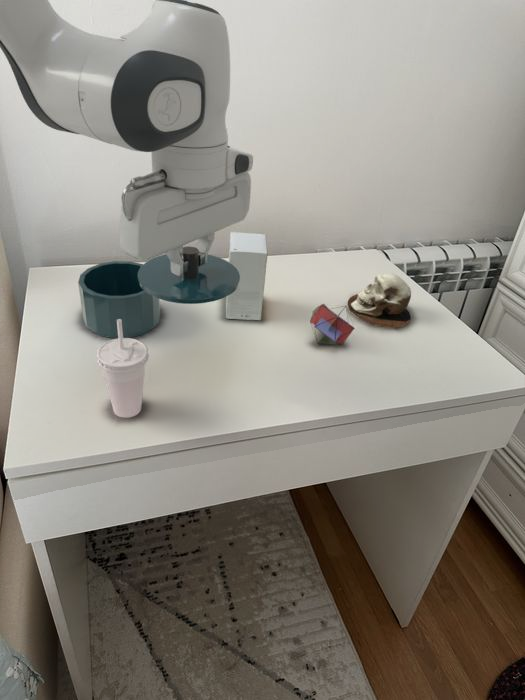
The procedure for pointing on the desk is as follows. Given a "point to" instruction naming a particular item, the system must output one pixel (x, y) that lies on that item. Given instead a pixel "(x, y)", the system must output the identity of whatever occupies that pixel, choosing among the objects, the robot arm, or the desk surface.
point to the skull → (383, 302)
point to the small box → (247, 275)
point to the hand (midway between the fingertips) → (189, 268)
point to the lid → (189, 279)
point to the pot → (117, 300)
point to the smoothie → (124, 372)
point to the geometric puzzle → (331, 324)
